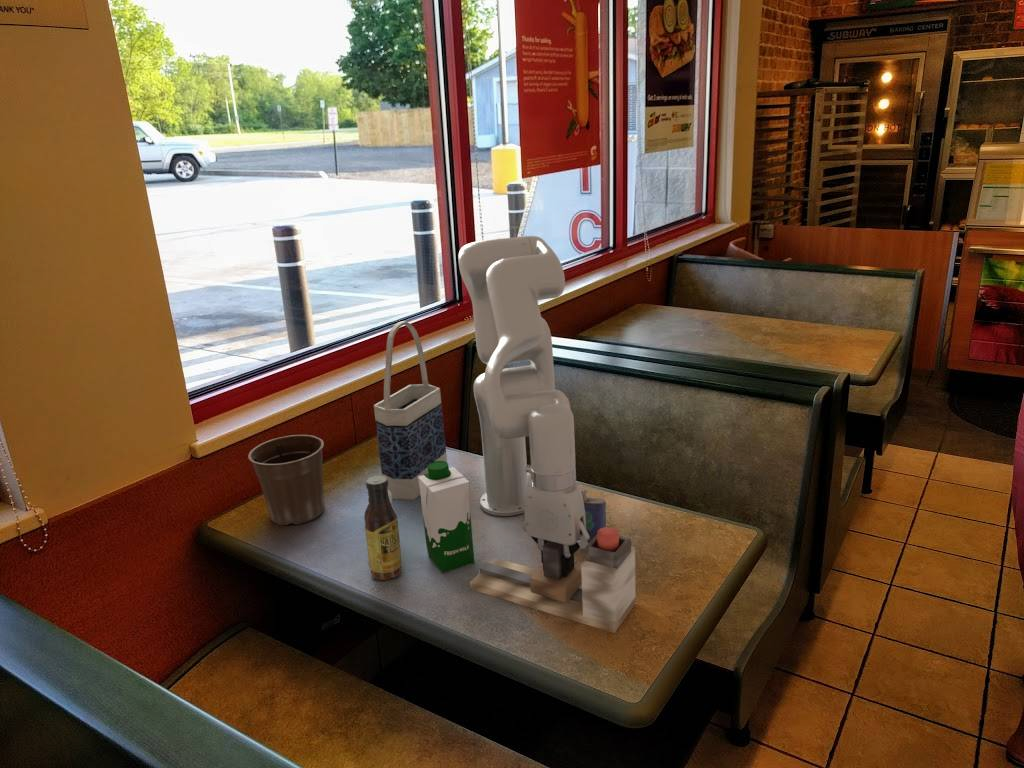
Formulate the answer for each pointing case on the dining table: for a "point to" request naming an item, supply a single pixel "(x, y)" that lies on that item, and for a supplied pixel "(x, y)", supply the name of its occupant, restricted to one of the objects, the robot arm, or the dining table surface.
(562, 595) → the carriage
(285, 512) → the plant pot
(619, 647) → the dining table surface
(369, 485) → the sauce bottle
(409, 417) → the bag
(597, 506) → the flask
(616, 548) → the red dome button
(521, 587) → the rail
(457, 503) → the milk carton
